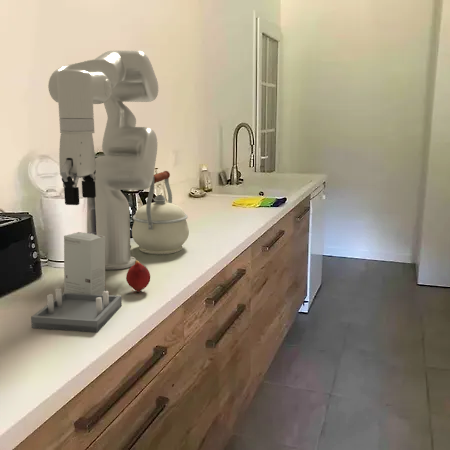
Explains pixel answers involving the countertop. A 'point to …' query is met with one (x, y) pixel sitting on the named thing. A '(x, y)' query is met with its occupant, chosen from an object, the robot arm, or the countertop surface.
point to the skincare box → (84, 263)
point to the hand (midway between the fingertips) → (81, 200)
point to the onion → (138, 276)
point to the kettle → (160, 222)
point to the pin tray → (76, 311)
